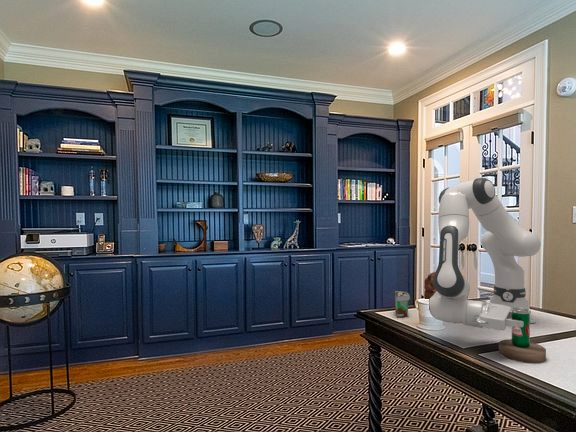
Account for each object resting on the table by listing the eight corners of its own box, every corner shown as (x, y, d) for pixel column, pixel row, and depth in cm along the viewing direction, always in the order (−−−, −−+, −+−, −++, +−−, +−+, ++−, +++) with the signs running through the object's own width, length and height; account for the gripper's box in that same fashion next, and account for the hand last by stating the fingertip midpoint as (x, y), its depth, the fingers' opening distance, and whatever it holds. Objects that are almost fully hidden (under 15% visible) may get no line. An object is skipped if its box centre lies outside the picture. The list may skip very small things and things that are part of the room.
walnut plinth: (501, 345, 131) (501, 336, 131) (546, 353, 123) (546, 344, 123) (496, 357, 120) (496, 347, 120) (545, 366, 113) (545, 356, 112)
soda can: (508, 343, 124) (508, 307, 124) (521, 342, 125) (521, 306, 125) (519, 348, 119) (519, 311, 119) (533, 347, 120) (533, 310, 120)
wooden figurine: (425, 310, 179) (425, 273, 178) (424, 307, 185) (423, 271, 185) (452, 311, 176) (452, 273, 176) (449, 308, 182) (449, 271, 182)
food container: (411, 319, 164) (411, 296, 164) (397, 318, 165) (397, 296, 165) (408, 312, 176) (408, 291, 176) (395, 311, 177) (395, 290, 177)
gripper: (471, 311, 121) (521, 318, 113) (482, 299, 137) (527, 304, 129) (471, 330, 121) (522, 338, 113) (482, 316, 137) (527, 322, 129)
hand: (524, 320), depth 121 cm, fingers open, 8 cm apart
